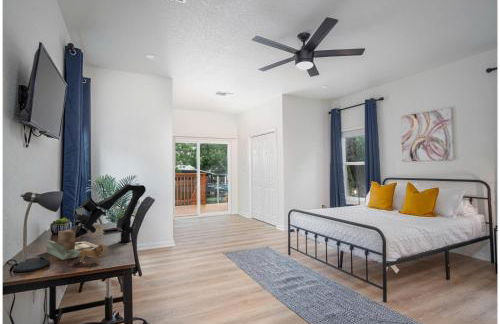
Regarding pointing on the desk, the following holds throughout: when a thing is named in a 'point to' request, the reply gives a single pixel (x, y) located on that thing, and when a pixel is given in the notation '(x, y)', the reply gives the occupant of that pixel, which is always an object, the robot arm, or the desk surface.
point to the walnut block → (67, 239)
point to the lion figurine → (92, 253)
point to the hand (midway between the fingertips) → (72, 238)
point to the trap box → (61, 251)
